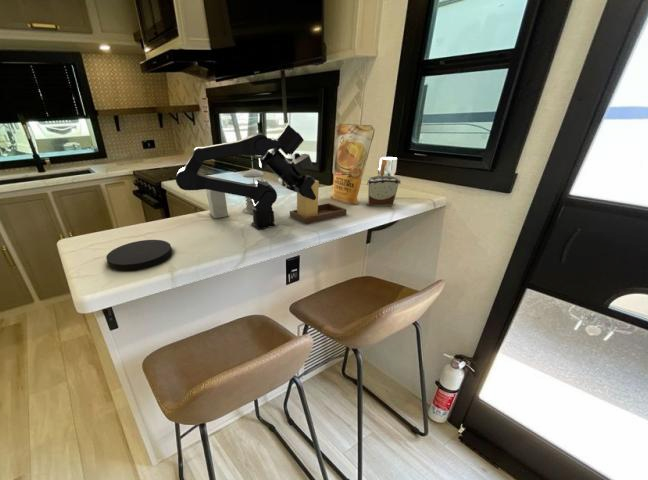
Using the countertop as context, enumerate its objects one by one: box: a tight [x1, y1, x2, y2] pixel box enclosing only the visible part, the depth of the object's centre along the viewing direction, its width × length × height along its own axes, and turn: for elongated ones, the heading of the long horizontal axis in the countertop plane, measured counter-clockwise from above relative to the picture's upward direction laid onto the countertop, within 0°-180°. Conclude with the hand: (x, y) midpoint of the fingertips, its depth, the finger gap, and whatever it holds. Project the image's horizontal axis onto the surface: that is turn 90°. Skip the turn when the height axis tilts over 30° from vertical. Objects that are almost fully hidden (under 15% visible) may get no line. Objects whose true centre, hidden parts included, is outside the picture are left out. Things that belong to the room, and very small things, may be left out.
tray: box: [289, 202, 347, 225], centre depth 114 cm, size 18×11×2 cm, turn 117°
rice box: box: [296, 179, 320, 218], centre depth 109 cm, size 5×6×12 cm
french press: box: [242, 155, 265, 215], centre depth 118 cm, size 10×12×25 cm
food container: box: [366, 175, 401, 207], centre depth 121 cm, size 12×6×10 cm, turn 84°
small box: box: [205, 189, 229, 219], centre depth 120 cm, size 8×6×10 cm
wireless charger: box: [105, 239, 173, 272], centre depth 90 cm, size 18×18×2 cm
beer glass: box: [377, 156, 398, 177], centre depth 129 cm, size 7×7×15 cm
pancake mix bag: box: [332, 123, 376, 205], centre depth 123 cm, size 7×19×28 cm, turn 27°
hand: (311, 196), depth 109 cm, fingers closed on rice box, 6 cm apart
